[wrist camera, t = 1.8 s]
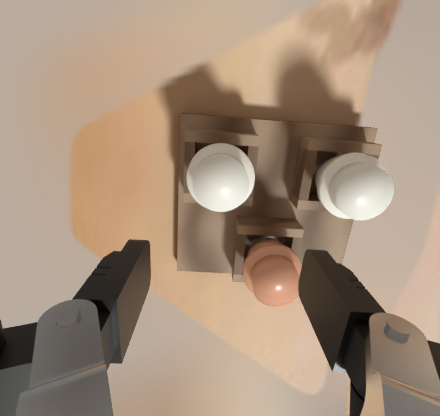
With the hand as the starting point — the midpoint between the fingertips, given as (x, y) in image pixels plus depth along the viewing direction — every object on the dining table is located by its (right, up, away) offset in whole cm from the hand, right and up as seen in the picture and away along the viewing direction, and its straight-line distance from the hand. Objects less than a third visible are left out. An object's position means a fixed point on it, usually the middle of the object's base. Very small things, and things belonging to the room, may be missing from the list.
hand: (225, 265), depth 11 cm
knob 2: (+12, +5, +17) cm, 21 cm away
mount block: (+5, +3, +22) cm, 23 cm away
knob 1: (0, +6, +16) cm, 18 cm away
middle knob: (+5, -3, +20) cm, 21 cm away
